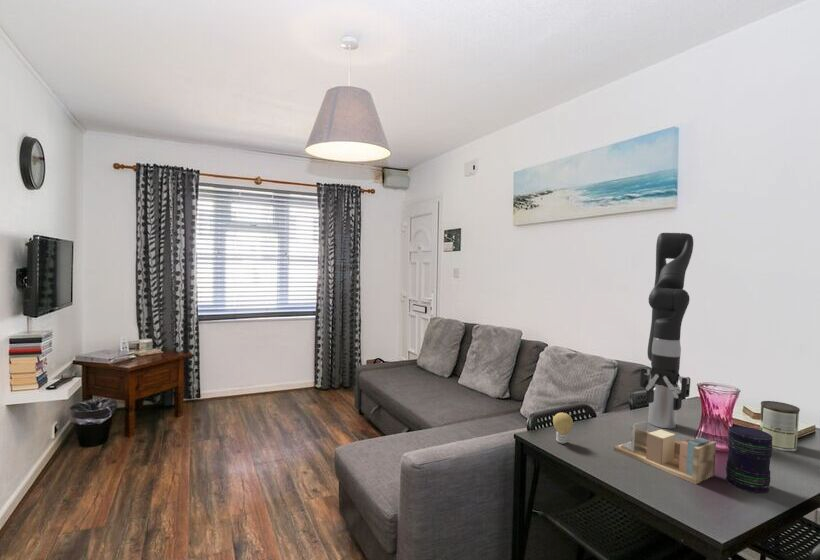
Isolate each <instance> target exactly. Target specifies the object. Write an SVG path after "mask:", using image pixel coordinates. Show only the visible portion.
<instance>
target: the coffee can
mask: <svg viewBox="0 0 820 560" xmlns="http://www.w3.org/2000/svg"><path fill="white" fill-rule="evenodd" d="M800 411H801V409H800V407H798V406H796V405H793V404H789V403H785V402H782V401H781V402H780V401H775V400H763V401H762V400H761V401H760V418H759V419H760V421H759V430H761V431H764V432H766V433H768V434H770V435H771V436H772V437H773V439H772V449H774V450H778V451H783V452H785V451H786V452H795V451H798V434H799V418H800Z"/></svg>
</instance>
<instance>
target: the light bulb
mask: <svg viewBox="0 0 820 560" xmlns="http://www.w3.org/2000/svg"><path fill="white" fill-rule="evenodd" d="M552 423H553V424H552V425H553V427H554V429H555V430H556V433H555V434H556V435H555V437H556V438H555V440H556V441H557V442H558V443H559V444H567V443H568V442H569V440H568V439H569V431H571V429H572V428H573V425H574V421H573V418H572V416H571V415H569V414H568V413H565V412H558V413H556V414H555V415H554V416H553V418H552Z"/></svg>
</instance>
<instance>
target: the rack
mask: <svg viewBox="0 0 820 560" xmlns="http://www.w3.org/2000/svg"><path fill="white" fill-rule="evenodd" d="M632 430H633V426H631V434H630V441H629V442H625V443H621V444H618V445H615V446H613V451H616V452H618V453H620V454H622V455H624V456H628V457H630V458H632V459H635V460H637V461H639V462H642V463H644V464H647V465H648V466H652V467H654V468H656V469H659V470H661V471H663V472H666V473H667V474H670V475H673V476H675V477H677V478H679V479H682V480H685V481H687V482H690V483H692V484H694V485H697V484H699V483H701V481H702V482H703V480H704V481H706V480H708V478H709V479H710V477H711V478H713V477H715V472H716V471H715V469H716V467H715V466H716V456H717V455H716V453H717V442H716V441H714V440H712V441H710V440H709V439H705V438H703V437H698V438H693V437H692V438H688V439H685V440H683V441H680V443H678V442H675V450H674V460H672V461H670V462H667V463H664V464H662V465H660V464H658V463H655V462H653V461H650V460H648V459H646V453H647V440H646V449H643V450H640V451H637V452H631V451H629V450H627V449H624V448H622V447H621V445H623V444H626V443H630V442H632ZM648 433H650V432H649V431H647V434H648Z"/></svg>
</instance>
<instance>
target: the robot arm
mask: <svg viewBox="0 0 820 560" xmlns="http://www.w3.org/2000/svg"><path fill="white" fill-rule="evenodd" d="M693 250H694V237H693V235H692V234H691V233H690V234H689V233H686V232H681V233H680V232H661V233H659V234H658V236H657V239H656V247H655V276H654V277H655V278H654V284H653V285H654V286H653V288H652V289H651V290H650V291H651V292H650V293H649V296H648V305H649V306H650V308H651V323H650V329H649V330H650V332H649V338H648V345H647V359H648V360H649V361H650V363H651V365H650V366H651V368H649V367H643V368H641V369H640V379H639V381H640V382H639V383H640V384H639V386H640V387H641V388H643V389H645V390H646V393H645V395H646V396H645V397H646V401H647V403H648V417H647V418H648V420H647V421H648V422H647V423H648V424H650V425H652V426H654V427H657V428H662V429H675V428H676V426H677V418H678V417H677V414H678V411H679V410H681V408H682V400H683V399H684V398H689V397H690V390H691V378H690V377H689V376H687V377H685V376H681V375H680V364H681V352H682V350H681V349H682V347H681V333H682V332H681V329H682V323H683V319H684V316H685V313H686V312H687V308H688V307H689V304H690V295H689V293H688V292H687V290H685V289H684V287H685V278H686V272H687V269H688V266H689V264H690V262H691V259H692V255H693ZM667 259H670V261H669V262H668V263H667ZM671 259H672V260H671ZM649 377H650V378H649ZM649 379H650V380H649ZM679 383H680V384H681V387H680V386H679Z"/></svg>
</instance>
